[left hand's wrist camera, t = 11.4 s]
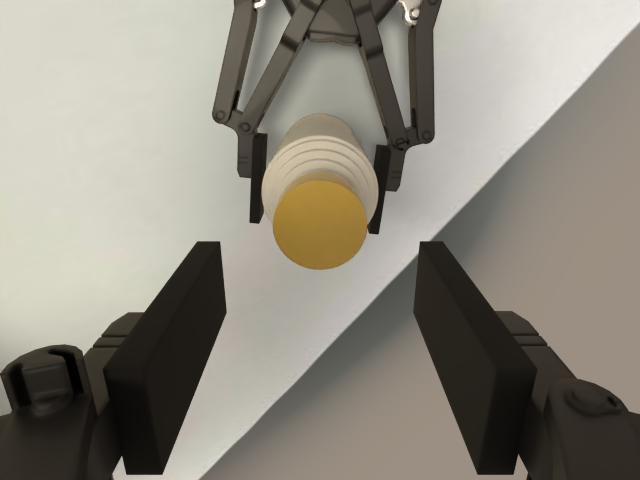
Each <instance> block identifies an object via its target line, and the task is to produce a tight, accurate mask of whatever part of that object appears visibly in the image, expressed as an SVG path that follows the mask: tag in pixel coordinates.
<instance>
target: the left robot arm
mask: <svg viewBox="0 0 640 480" xmlns="http://www.w3.org/2000/svg"><path fill="white" fill-rule="evenodd" d="M226 313H227V311H226V300H225V289H224V278H223V268H222V257H221V246H220V241H197V243H196V244H195V245H194V247H193V248H192V249H191V251H190V252H189V253H188V255H187V256H186V257H185V259H184V260H183V261H182V263H181V264H180V265H179V267H178V268H177V270H176V271H175V272H174V274H173V275H172V276H171V278H170V279H169V280H168V282H167V283H166V284H165V286H164V287H163V288H162V290H161V291H160V292H159V294H158V295H157V296H156V298H155V299H154V300H153V302H152V303H151V304H150V306H149V307H148V308H147V310H146V311H145V312H128V313H127V314H125V315H124V316H122V317H120V318H119V319H117V320H116V321H114V322H113V323H111V325H110V326H109V327H108V328H107V329H106V330H105V332H104V333H103V334H102V337H101V338H99V339H98V340H97V341H96V342H95V343H94V345H93V348H90V349H89V351H88V352H87V353H86V354H85V355H84V356H83V353H82V351H81V350H80V349H78V348H77V347H76V346H70V345H52V346H47V347H44V348H40V349H36V350H33V351H31V352H29V353H27V354H24V355H22V356H20V357H18V358H17V359H15V360H14V361H13V362H11V363H10V364H8V365H7V366H6V367H5V368H4V370H3V371H2V372H1V373H0V376H1V379H2V382H3V385H4V388H5V391H6V394H7V397H8V399H9V402H10V405H11V408H12V412H11V414H7V415H3V416H0V480H114V479H113V475H112V473H113V471H114V469H115V467H116V466H117V464H118V462H119V460H120V458H121V456H122V457H123V461H124V466H125V470H126V475H162V474H163V472H164V469H165V467H166V464H167V462H168V459H169V457H170V454H171V452H172V449H173V446H174V444H175V441H176V439H177V436H178V434H179V431H180V429H181V426H182V424H183V421H184V419H185V416H186V414H187V411H188V409H189V406H190V404H191V401H192V399H193V396H194V394H195V391H196V388H197V386H198V383H199V381H200V378H201V376H202V373H203V371H204V368H205V366H206V363H207V361H208V358H209V356H210V353H211V351H212V348H213V346H214V343H215V341H216V338H217V336H218V333H219V330H220V328H221V325H222V323H223V320H224V318H225V315H226ZM413 313H414V315H415V318H416V320H417V323H418V325H419V328H420V330H421V333H422V335H423V338H424V341H425V343H426V346H427V348H428V351H429V353H430V356H431V358H432V361H433V363H434V366H435V368H436V371H437V373H438V376H439V378H440V381H441V383H442V386H443V388H444V391H445V394H446V396H447V399H448V401H449V404H450V406H451V409H452V411H453V414H454V416H455V419H456V421H457V424H458V426H459V429H460V431H461V434H462V436H463V439H464V441H465V444H466V446H467V449H468V451H469V454H470V457H471V459H472V462H473V464H474V467H475V469H476V472H477V474H478V475H513V474H514V470H515V466H516V461H517V457H518V454H519V456H520V458H521V460H522V461H523V463H524V465H525V467H526V469H527V471H528V475H527V479H526V480H640V414H636V413H633V412H629V411H628V409H627V408H626V406H625V405H624V404H623V402H622V401H621V400H620V399H619V398H618V397H616V396H615V395H614V394H612V393H611V392H610V391H608V390H606V389H604V388H602V387H600V386H598V385H596V384H594V383H591V382H588V381H584V380H581V379H577V378H576V377H575V376H574V374H573V373H572V372H571V371H570V370H569V369H568V367H567V366H566V365H565V364H564V363H563V362H562V360H561V359H560V358H559V357H558V356H557V355H556V353H555V352H554V351H553V350H552V349H551V347H549V346H547V343H546V342H545V340H544V339H543V338H542V337H541V336H539V333H538V332H537V331H536V330H535V329H534V328H533V326H532V325H531V324H530V323H529V322H528V321H527V320H525V319H524V318H522V317H520V316H519V315H517V314H516V313H514V312H512V311H494V310H493V308H492V307H491V306H490V304H489V303H488V302H487V300H486V299H485V298H484V296H483V295H482V294H481V292H480V291H479V290H478V288H477V287H476V286H475V284H474V283H473V282H472V280H471V279H470V278H469V276H468V275H467V274H466V272H465V271H464V270H463V268H462V267H461V266H460V264H459V263H458V261H457V260H456V259H455V257H454V256H453V255H452V253H451V252H450V251H449V249H448V248H447V247H446V245H445V244H444V243H443V242H442V241H439V242H438V241H436V242H435V241H420V246H419V257H418V268H417V278H416V289H415V300H414V311H413Z"/></svg>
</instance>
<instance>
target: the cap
mask: <svg viewBox="0 0 640 480" xmlns="http://www.w3.org/2000/svg"><path fill="white" fill-rule="evenodd" d="M273 233H274V237H275V240H276V242H277V244H278V246H279V248H280V249H281V251H282V252H283V253H284V254H285V255H286V256H287V257H288V258H289V259H290V260H292V261H293V262H295V263H296V264H298V265H301V266H303V267H306V268H310V269H319V270H322V269H330V268H334V267H337V266H340V265H342V264H344V263H345V262H347V261H349V260H350V259H351V258H352V257H353V256H354V255H355V254H356V253H357V252H358V251H359V249H360V248H361V246H362V244H363V242H364V240H365V237H366V233H367V217H366V213H365V210H364V207H363V204H362V201H361V198H360V196H359V194H358V192H357V191H356V189H355V188H354V187H353V186H352V185H351V184H350V183H349V182H348V181H347V180H345V179H343V178H342V177H340V176H338V175H335V174H332V173H327V172H313V173H308V174H305V175H302V176H300V177H298V178H296V179H295V180H294V181H292V182H291V183H290V184H289V185H288V186H287V187H286V188H285V189H284V191H283V192H282V194H281V196H280V198H279V201H278V204H277V207H276V210H275V213H274V217H273Z"/></svg>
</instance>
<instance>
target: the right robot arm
mask: <svg viewBox="0 0 640 480" xmlns="http://www.w3.org/2000/svg"><path fill="white" fill-rule="evenodd" d="M282 1H283V3H284V5H285V7H286V8H287V10H288V12H289V14H290V16H291V20H290V22H289V23H288V25H287V27H286V29H285V31H284V33H283V35H282V38H281V41H280V43H279V45H278V47H277V49H276V50H275V52H274V54H273V56H272V58H271V60H270V62H269V64H268V66H267V68H266V70H265V72H264V74H263V76H262V77H261V79H260V81H259V83H258V85H257V87H256V89H255V91H254V93H253V95H252V97H251V99H250V101H249V103H248V104H247V106H246V108H245V110H244V112H242V111H239V110H237V105H238V101H239V96H240V92H241V88H242V84H243V79H244V75H245V71H246V66H247V62H248V58H249V54H250V49H251V45H252V41H253V36H254V32H255V28H256V22H257V13H258V10H259V9H263V8H264V7H265V6H266V4H267V0H234V7H235V8H234V13H233V18H232V22H231V27H230V32H229V36H228V41H227V46H226V51H225V55H224V60H223V65H222V69H221V74H220V79H219V83H218V88H217V93H216V97H215V102H214V107H213V111H212V117H213V119H214V120H215V122H217V123H219V124H224V125H226V126H228V127H230V128H232V129H234V130H235V132H236V133H237V135H238V163H237V171H238V174H239V176H240V177H245V178H251V197H250V223H258V224H259V223H260V220H261V218H262V216H263V213H264V206H263V202H262V182H263V178H264V174H265V171H266V154H267V134H263V133H257V128H258V127H259V124H260V122H261V121H262V119H263V117H264V115H265V113H266V111H267V109H268V107H269V106H270V104H271V102H272V100H273V98H274V96H275V94H276V93H277V91H278V89H279V87H280V85H281V83H282V81H283V80H284V78H285V76H286V74H287V72H288V70H289V68H290V67H291V65H292V63H293V61H294V59H295V57H296V55H297V54H298V52H299V50H300V49H301V47H302V45H303V43H304V41H305V40H306V38H307V39H309V40H310V41H312V42H326V41H331V40H332V41H335V42H337V43H340V44H342V45H350V46H353V45H355V44H357V45H358V48H359V51H360V54H361V57H362V59H363V62H364V65H365V68H366V72H367V75H368V78H369V82H370V85H371V88H372V91H373V95H374V98H375V101H376V104H377V108H378V111H379V114H380V118H381V121H382V124H383V127H384V131H385V134H386V137H387V141H388V142H387V146H386V145H377V147H376V154H375V161H374V168H373V169H374V171H375V174H376V177H377V182H378V202H377V206H376V209H375V212H374V215H373V217H372V218H371V220H370V222H369V223H368V225H367V228H368V232H369V234H379V229H380V222H381V216H382V210H383V203H384V197H385V191H394V192H396V191H397V189H398V188H399V186H400V181H401V176H402V170H403V164H404V158H405V153H406V151H407V150H408V149H409V148H410V147H412V146H415V145H419V144H428V143H430V142H431V141H432V140H433V139H434V135H435V125H434V57H433V28H434V25H435V22H436V18H437V15H438V12H439V8H440V5H441V2H442V0H282ZM395 4H397V5H399V6H400V7H401V9H402V12H403V15H402V18H403V22H404V23H405V24H406V25H408V26H410V27H409V34H408V52H409V82H410V111H411V127H407V128H405V126H404V123H403V119H402V116H401V112H400V109H399V105H398V102H397V98H396V95H395V91H394V88H393V84H392V81H391V77H390V74H389V70H388V67H387V63H386V60H385V56H384V53H383V46H382V42H381V38H380V35H379V31H378V28H377V26H378V24H379V23H380V22H381V21H382V20H383V18H384V17H385V16H386V15H387V14H388V12H389V11H390V10H391V9H392V8H393V6H394V5H395Z"/></svg>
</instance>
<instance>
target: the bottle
mask: <svg viewBox="0 0 640 480" xmlns="http://www.w3.org/2000/svg"><path fill="white" fill-rule="evenodd" d="M313 172H327V173H332V174H335V175H338V176H340V177H342V178H343V179H345V180H347V181H348V182H349V183H350V184H351V185H352V186H353V187H354V188H355V189H356V191H357V192H358V194H359V196H360V198H361V201H362V204H363V207H364V210H365V213H366V217H367V225H368V223H369V222H370V220H371V218H372V217H373V215H374V212H375V209H376V206H377V202H378V182H377V177H376V174H375V171H374V169H373V167H372V165H371V163H370V161H369V160H368V158H367V156H366V155H365V153H364V151H363V150H362V148H361V146H360V144H359V143H358V141H357V139H356V138H355V136H354V134H353V133H352V131H351V129H350V128H349V127H348V126H347V125H346V124H345V123H344V122H343V121H341V120H340V119H338V118H336V117H334V116H331V115H327V114H313V115H309V116H306V117H304V118H302V119H300V120H299V121H297V122H296V123H295V124H294V125H293V126H292V127H291V128H290V129H289V131H288V133H287V134H286V136H285V138H284V139H283V141H282V143H281V145H280V146H279V148H278V150H277V151H276V153H275V155H274V156H273V158H272V160H271V162H270V163H269V165H268V167H267V169H266V171H265V174H264V178H263V182H262V202H263V206H264V210H265V212H266V214H267V217H268V218H269V220H270V222H271V223H272V225H273V217H274V213H275V210H276V207H277V204H278V201H279V198H280V196H281V194H282V192H283V191H284V189H285V188H286V187H287V186H288V185H289V184H290V183H291V182H292V181H294V180H295V179H296V178H298V177H300V176H302V175H305V174H308V173H313Z"/></svg>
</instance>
